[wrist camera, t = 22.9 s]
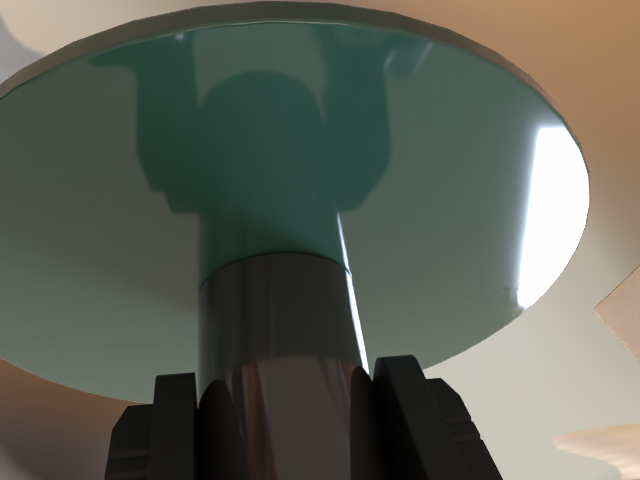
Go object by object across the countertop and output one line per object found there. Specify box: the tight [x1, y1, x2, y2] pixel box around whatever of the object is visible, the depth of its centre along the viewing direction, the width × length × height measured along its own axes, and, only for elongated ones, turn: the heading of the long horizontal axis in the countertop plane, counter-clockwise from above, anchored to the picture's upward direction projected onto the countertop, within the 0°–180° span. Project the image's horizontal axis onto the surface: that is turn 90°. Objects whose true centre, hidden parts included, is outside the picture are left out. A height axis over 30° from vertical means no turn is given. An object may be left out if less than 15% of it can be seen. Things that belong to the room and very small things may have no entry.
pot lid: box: [0, 1, 590, 480], centre depth 12 cm, size 14×14×7 cm
